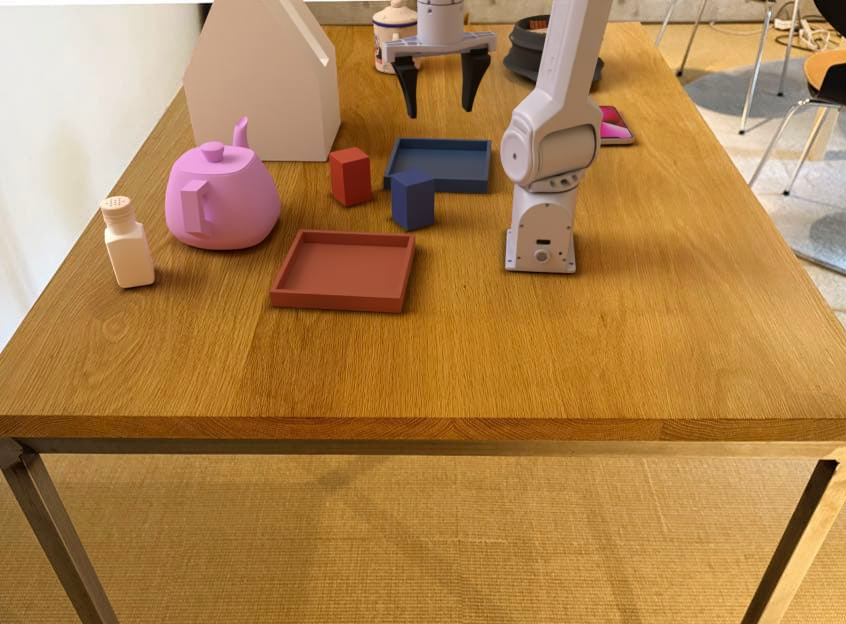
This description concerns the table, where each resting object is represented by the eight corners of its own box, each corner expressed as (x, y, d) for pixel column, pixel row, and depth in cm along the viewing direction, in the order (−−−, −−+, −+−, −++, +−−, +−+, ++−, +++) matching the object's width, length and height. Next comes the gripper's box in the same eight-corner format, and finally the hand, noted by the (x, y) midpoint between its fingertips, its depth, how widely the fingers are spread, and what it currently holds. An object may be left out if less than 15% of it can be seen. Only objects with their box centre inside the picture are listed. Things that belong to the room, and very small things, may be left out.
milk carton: (340, 123, 123) (327, -54, 107) (326, 161, 112) (308, -31, 96) (225, 121, 125) (194, -54, 108) (198, 159, 113) (159, -31, 97)
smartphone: (614, 105, 125) (635, 138, 114) (613, 111, 126) (634, 145, 114) (570, 106, 125) (586, 139, 114) (569, 112, 126) (585, 145, 114)
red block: (372, 200, 102) (369, 156, 98) (345, 207, 100) (342, 163, 96) (358, 189, 104) (355, 146, 101) (332, 196, 103) (328, 153, 99)
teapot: (302, 197, 103) (293, 115, 95) (253, 272, 88) (238, 181, 81) (209, 191, 105) (193, 109, 97) (146, 264, 90) (121, 174, 82)
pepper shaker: (119, 291, 85) (95, 213, 79) (119, 273, 88) (96, 197, 82) (156, 285, 86) (134, 207, 80) (154, 268, 89) (134, 191, 83)
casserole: (488, 56, 150) (491, 9, 144) (579, 51, 151) (585, 4, 146) (519, 99, 131) (523, 47, 125) (623, 92, 132) (631, 41, 127)
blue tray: (487, 193, 103) (487, 180, 102) (383, 189, 104) (383, 176, 103) (491, 152, 113) (491, 139, 112) (397, 149, 115) (396, 136, 114)
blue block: (434, 223, 96) (434, 178, 92) (407, 231, 95) (406, 186, 91) (418, 211, 99) (418, 167, 95) (391, 219, 98) (390, 174, 94)
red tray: (400, 313, 81) (400, 298, 80) (271, 306, 82) (269, 291, 81) (415, 248, 92) (415, 233, 90) (301, 243, 93) (299, 229, 92)
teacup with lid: (375, 60, 149) (373, -6, 141) (422, 60, 148) (421, -6, 141) (371, 80, 139) (368, 11, 132) (421, 80, 139) (420, 10, 132)
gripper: (485, -13, 96) (480, 97, 105) (374, -3, 93) (379, 108, 102) (505, 0, 91) (499, 114, 100) (389, 11, 88) (393, 127, 97)
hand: (439, 112), depth 101 cm, fingers open, 7 cm apart
